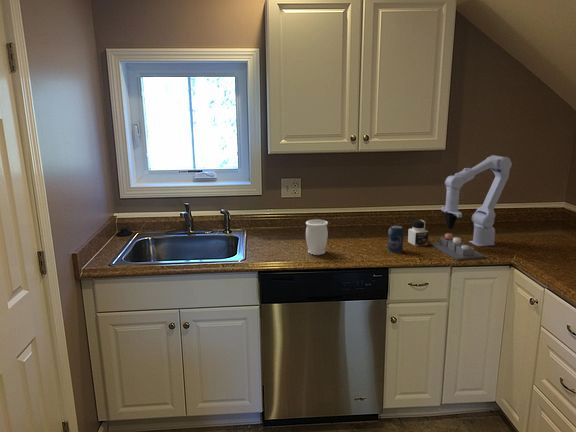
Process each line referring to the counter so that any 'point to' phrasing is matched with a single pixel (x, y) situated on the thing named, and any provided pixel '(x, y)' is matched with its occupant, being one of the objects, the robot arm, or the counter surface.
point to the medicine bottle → (418, 233)
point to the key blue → (465, 247)
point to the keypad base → (456, 250)
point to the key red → (448, 236)
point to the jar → (316, 236)
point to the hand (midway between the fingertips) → (450, 228)
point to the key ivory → (456, 240)
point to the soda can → (395, 239)
